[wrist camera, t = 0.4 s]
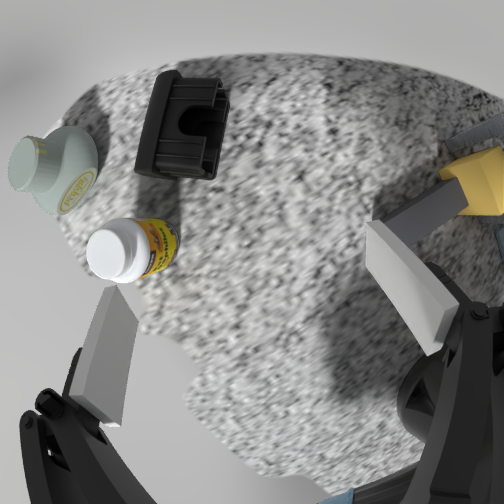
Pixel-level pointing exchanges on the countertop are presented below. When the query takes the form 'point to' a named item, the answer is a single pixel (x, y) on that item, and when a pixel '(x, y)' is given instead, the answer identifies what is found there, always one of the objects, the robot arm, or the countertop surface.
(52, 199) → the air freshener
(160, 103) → the end cap
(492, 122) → the grey arch-shaped block
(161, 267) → the supplement bottle
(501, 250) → the mat
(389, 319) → the countertop surface
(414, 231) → the plug
